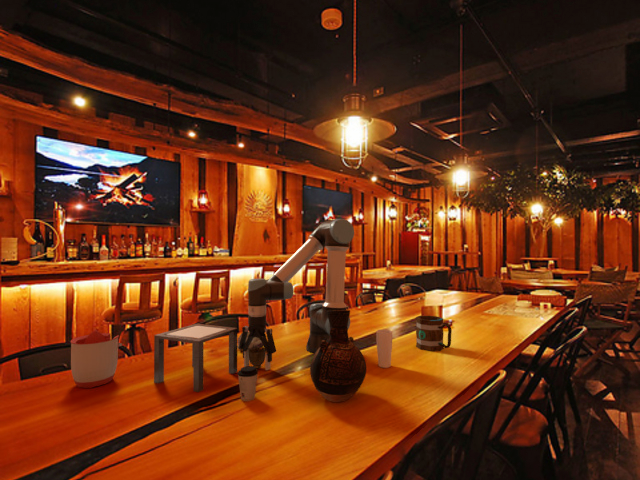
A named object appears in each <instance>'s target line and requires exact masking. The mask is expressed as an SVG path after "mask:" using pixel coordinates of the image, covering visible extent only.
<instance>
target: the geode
mask: <svg viewBox="0 0 640 480" xmlns="http://www.w3.org/2000/svg"><path fill="white" fill-rule="evenodd" d="M249 334H250V332H249V331H248V334H247V338H246V341H247V339H248V336H249ZM241 336H242V332H241V334H240V335H239V337H237V350H240V351H242V349H239V344H240V340H241ZM262 337H263V336H262ZM255 347H257V348H258V347H259V349H262V348H264V346H263V344H262V341H261V340H260V339H259V338H257V337H254V338H253V339H252V341H251V343H250V345H249V347H248V349H247V350H249V349H250V348H251V349H252V348H255Z"/></svg>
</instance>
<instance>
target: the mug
mask: <svg viewBox="0 0 640 480" xmlns="http://www.w3.org/2000/svg"><path fill="white" fill-rule="evenodd" d="M415 323H416V328H415V334H416V335H415V337H416V342H415V343H416V345H415V347H416V348H417V349H419V350H421V351H426V352H441V351H443V350H444V349H448V348H450V347H451V344H452V332H453V331H452V326H451V325H450V324H448V323H444V318H443V317H440V316H437V315H418V316H416V317H415ZM445 327H446V328H447V330H448V331H447V344H444V335H445V334H444V328H445Z"/></svg>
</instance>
